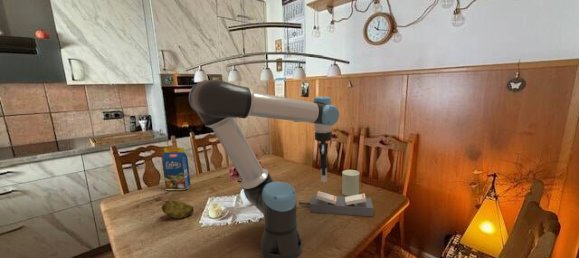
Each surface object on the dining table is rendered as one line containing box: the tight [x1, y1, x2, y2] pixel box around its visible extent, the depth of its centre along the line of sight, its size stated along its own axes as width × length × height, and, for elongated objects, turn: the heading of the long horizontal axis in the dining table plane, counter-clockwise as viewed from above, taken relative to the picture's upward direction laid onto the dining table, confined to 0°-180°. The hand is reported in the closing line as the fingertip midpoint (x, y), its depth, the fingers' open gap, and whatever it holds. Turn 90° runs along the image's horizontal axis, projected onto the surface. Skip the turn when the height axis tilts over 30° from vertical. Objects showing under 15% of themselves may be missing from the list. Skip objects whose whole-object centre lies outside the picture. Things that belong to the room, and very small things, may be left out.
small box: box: [344, 193, 367, 205], centre depth 113 cm, size 9×5×2 cm, turn 78°
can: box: [341, 169, 360, 197], centre depth 134 cm, size 9×9×12 cm
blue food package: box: [162, 147, 191, 190], centre depth 145 cm, size 6×12×25 cm, turn 86°
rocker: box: [316, 190, 338, 204], centre depth 116 cm, size 9×5×2 cm, turn 79°
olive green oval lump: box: [161, 199, 194, 219], centre depth 115 cm, size 8×13×8 cm, turn 81°
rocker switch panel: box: [298, 194, 374, 217], centre depth 118 cm, size 34×10×5 cm, turn 79°
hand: (324, 180), depth 116 cm, fingers closed
